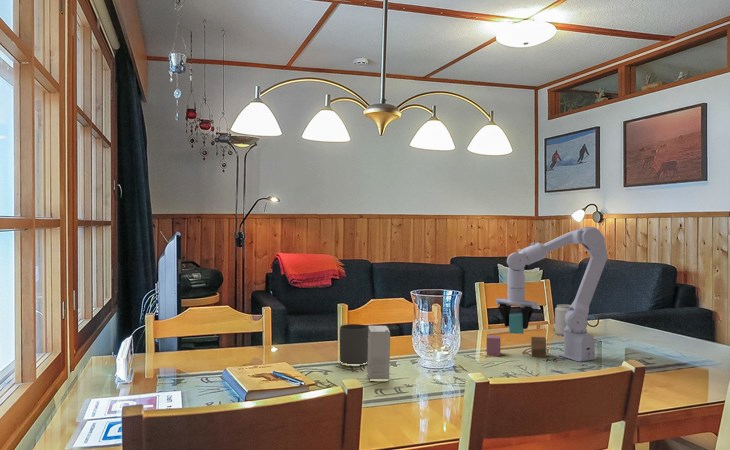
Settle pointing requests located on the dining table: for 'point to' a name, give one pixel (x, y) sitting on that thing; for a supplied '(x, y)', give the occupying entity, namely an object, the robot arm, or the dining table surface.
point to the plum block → (493, 345)
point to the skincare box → (378, 352)
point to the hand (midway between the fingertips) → (516, 327)
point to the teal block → (516, 323)
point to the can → (560, 318)
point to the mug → (354, 344)
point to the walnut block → (538, 347)
